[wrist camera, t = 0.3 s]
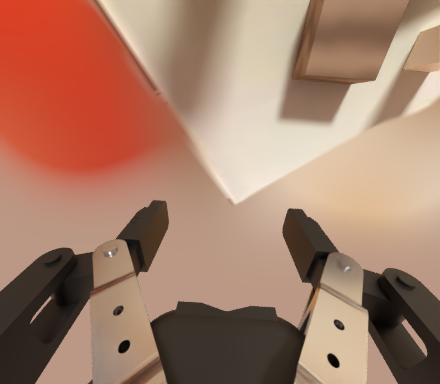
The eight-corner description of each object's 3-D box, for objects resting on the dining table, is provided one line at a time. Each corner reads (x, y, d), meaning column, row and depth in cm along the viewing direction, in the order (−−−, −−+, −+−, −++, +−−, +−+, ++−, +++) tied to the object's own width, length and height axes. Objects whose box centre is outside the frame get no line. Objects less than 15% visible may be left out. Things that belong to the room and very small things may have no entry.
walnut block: (311, -5, 26) (332, -32, 21) (381, 1, 26) (419, -24, 21) (292, 79, 32) (305, 74, 26) (350, 84, 32) (375, 80, 26)
